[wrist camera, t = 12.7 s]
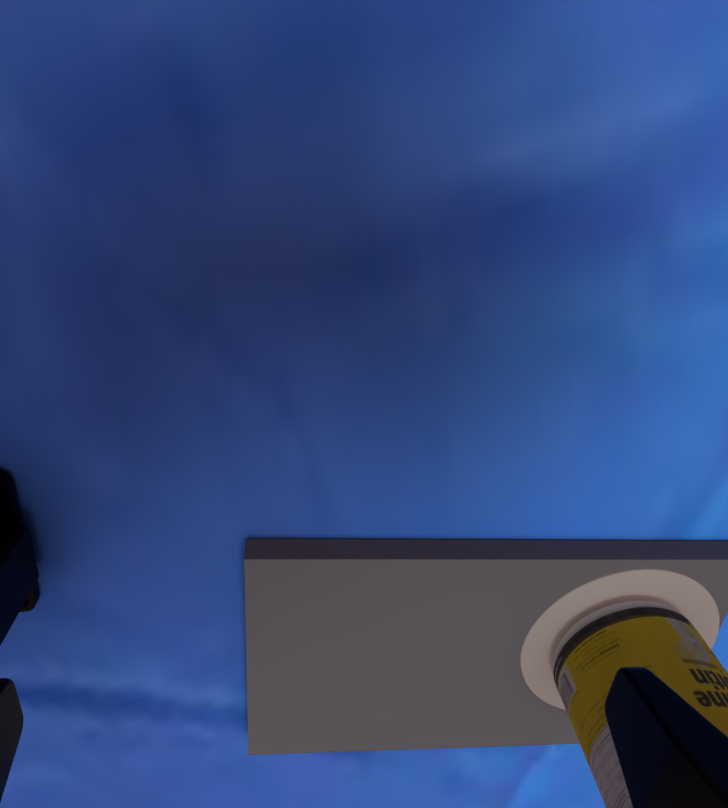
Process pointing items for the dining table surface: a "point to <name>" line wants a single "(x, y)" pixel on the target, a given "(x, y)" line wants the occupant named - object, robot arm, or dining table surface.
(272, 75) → the dining table surface
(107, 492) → the dining table surface
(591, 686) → the pill bottle
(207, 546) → the dining table surface
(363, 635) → the panel board
